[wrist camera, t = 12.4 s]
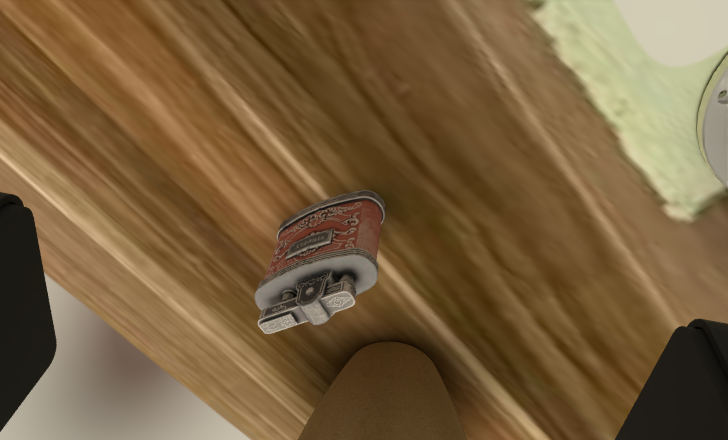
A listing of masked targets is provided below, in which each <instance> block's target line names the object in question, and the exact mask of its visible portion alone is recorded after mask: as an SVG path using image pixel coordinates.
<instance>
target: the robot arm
mask: <svg viewBox="0 0 728 440" xmlns="http://www.w3.org/2000/svg"><path fill="white" fill-rule="evenodd" d="M722 91H723V93H722V94H720V95H719V93H720V92H722ZM697 135H698V141H699V147H700V150H701V153H702V155H703V157H704V159H705V161H706V164H707V165H708V166H709V168H710V169H711V170H712V172H713V173H714V174H715V176H716V177H717V178H718V179H719V180H720V181H721V182H722V183H723V184H724V185H725V186H726V187H727V188H728V55H727V56H726V57H725V59H724V60H723V62H722V63H721V64H720V66H719V67H718V69H717V70H716V71H715V73H714V74H713V76H712V78H711V80H710V82H709V84H708V86H707V88H706V90H705V92H704V94H703V98H702V101H701V105H700V109H699V112H698V123H697ZM55 352H56V336H55V330H54V325H53V320H52V314H51V309H50V304H49V298H48V292H47V287H46V282H45V276H44V271H43V265H42V260H41V254H40V249H39V244H38V238H37V233H36V227H35V222H34V217H33V214H32V211H31V210H30V209H29V208H27V207H24V205H23V202H22V201H21V199H20V198H19V197H18V196H15V195H13V194H7V193H2V192H0V432H1V430H2V429H3V427H4V426H5V425H6V424H7V422H8V421H9V419H10V418H11V417H12V416H13V414H14V413H15V411H16V410H17V409H18V407H19V406H20V405H21V403H22V402H23V401H24V399H25V398H26V397H27V395H28V394H29V393H30V391H31V390H32V389H33V387H34V386H35V385H36V383H37V382H38V381H39V379H40V378H41V377H42V375H43V374H44V372H45V371H46V370H47V369H48V367H49V366H50V364H51V362H52V360H53V358H54V355H55ZM615 440H728V324H726V323H720V322H715V321H709V320H704V319H695V320H693V321H692V322H690V323H689V325H688V326H687V327H684V326H681V327H678V328H677V329H676V330H675V331H674V333H673V334H672V336H671V338H670V340H669V342H668V344H667V345H666V347H665V349H664V351H663V353H662V355H661V356H660V358H659V360H658V362H657V364H656V365H655V367H654V369H653V371H652V373H651V375H650V376H649V378H648V380H647V382H646V384H645V386H644V387H643V389H642V391H641V393H640V395H639V397H638V398H637V400H636V402H635V404H634V406H633V407H632V409H631V411H630V413H629V415H628V417H627V418H626V420H625V422H624V424H623V426H622V428H621V429H620V431H619V433H618V435H617V437H616V439H615Z"/></svg>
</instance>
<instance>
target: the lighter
mask: <svg viewBox="0 0 728 440" xmlns="http://www.w3.org/2000/svg"><path fill="white" fill-rule="evenodd" d="M384 217H385V204H384V201H383V200H382V198H381V197H380V196H379V195H378V194H376V193H375V192H372V191H369V190H362V191H357V192H352V193H347V194H342V195H338V196H335V197H332V198H329V199H326V200H323V201H320V202H318V203H315V204H313V205H311V206H309V207H307V208H305V209H303V210H301V211H299V212H298V213H296V214H295V215H293V216H291V217H290V218H288V219H287V220H285V221H284V222H283V223H282V224H281V226H280V228H279V231H278V234H277V241H278V242H277V245H276V247H275V250H274V253H273V256H272V258H271V261H270V264H269V267H268V270H267V272H266V275H265V278H264V280H262V281H261V282H260V283H259V285H258V288H257V291H256V294H255V302H256V304H257V306H258V308H259V309H260V310H261V311H262V312H261V315H260V318H259V320H258V325H259V327H260V328H261V330H262V331H263V332H264V333H266V334H270V333H274V332H277V331H280V330H283V329H286V328H289V327H292V326H295V325H298V324H301V323H304V322H307V321H309V322H311V323H312V324H313V325H320V324H323V323H325V322H326V321H328V320H329V319H330V317H331V316H332V315H334V314H335V312H337V311H340V310H343V309H346V308H350V307H352V306H353V305H354V304H355V299H356V296H357V295H358V294H360V293H362V292H364V291H366V290H368V289H369V288H371V287H372V286H373V285H375V283H376V281H377V277H378V263H377V261H376V260H377V252H378V244H379V236H380V228H381V224H382V223H383V220H384Z"/></svg>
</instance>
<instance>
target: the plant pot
mask: <svg viewBox="0 0 728 440" xmlns="http://www.w3.org/2000/svg"><path fill="white" fill-rule="evenodd" d="M298 440H467V439H466V436H465V433H464V430H463V428H462V425H461V422H460V420H459V417H458V415H457V412H456V409H455V407H454V405H453V402H452V400H451V398H450V396H449V393H448V391H447V389H446V387H445V385H444V383H443V381H442V379H441V377H440V375H439V373H438V371H437V369H436V367H435V365H434V363H433V362H432V361H431V359H430V358H429V357H428V356H427V355H426V354H424V353H423V352H422V351H420V350H419V349H417V348H415V347H413V346H410V345H407V344H404V343H399V342H378V343H373V344H370V345H368V346H365V347H363V348H362V349H360V350H359V351H357V352H356V353H355V354H354V355H353V356H352V358H351V359H350V360H349V361H348V362H347V364H346V365H345V366H344V368H343V369H342V370H341V372H340V373H339V374H338V376H337V377H336V378H335V380H334V381H333V383H332V384H331V386H330V387H329V388H328V390H327V391H326V393H325V394H324V396H323V397H322V399H321V401H320V402H319V404H318V405H317V407H316V409H315V410H314V412H313V414H312V415H311V417H310V419H309V420H308V422H307V424H306V426H305V427H304V429H303V431H302V433H301V435H300V437H299V439H298Z"/></svg>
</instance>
